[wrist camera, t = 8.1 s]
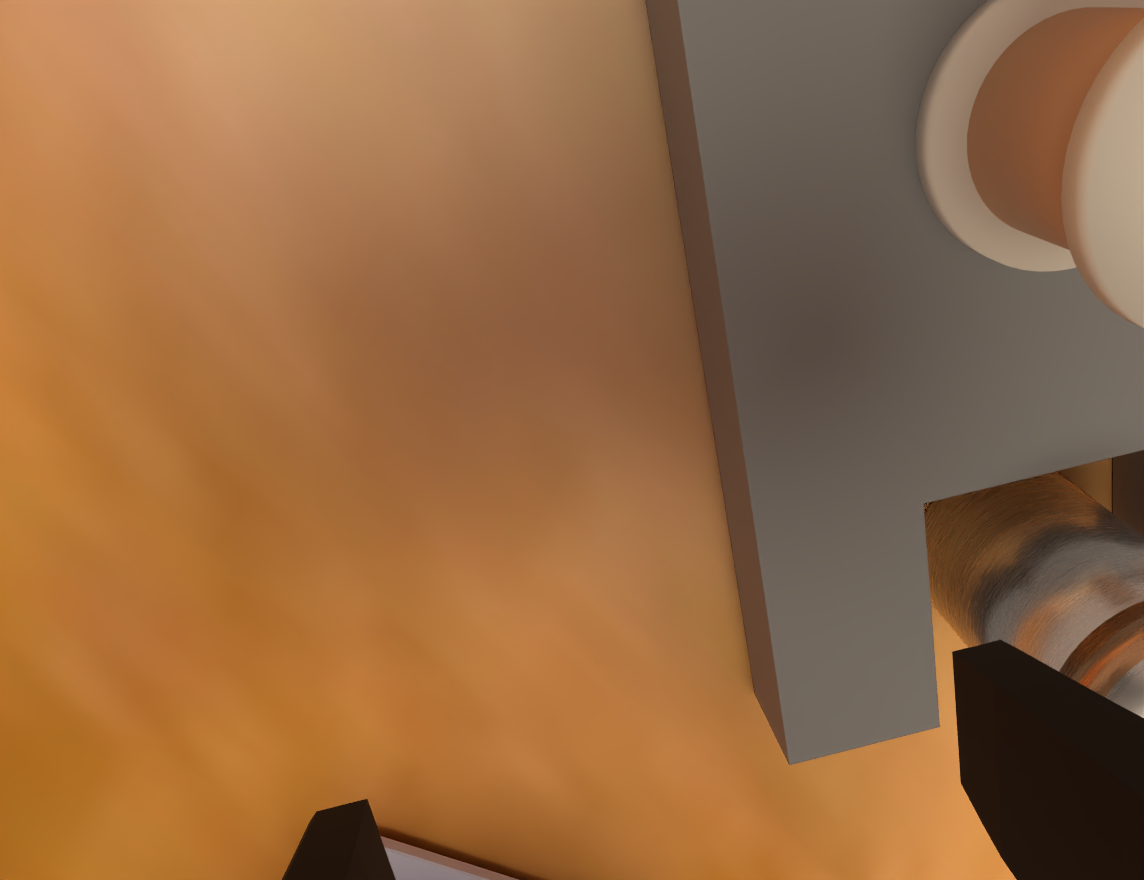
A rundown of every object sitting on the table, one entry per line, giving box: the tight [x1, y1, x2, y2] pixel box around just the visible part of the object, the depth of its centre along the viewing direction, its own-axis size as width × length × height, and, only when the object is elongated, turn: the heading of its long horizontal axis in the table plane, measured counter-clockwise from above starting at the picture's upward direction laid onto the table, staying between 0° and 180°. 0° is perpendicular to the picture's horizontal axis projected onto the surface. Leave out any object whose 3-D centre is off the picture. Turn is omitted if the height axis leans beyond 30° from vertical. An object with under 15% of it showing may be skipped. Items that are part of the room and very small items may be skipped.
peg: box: [924, 471, 1144, 718], centre depth 21 cm, size 4×4×7 cm
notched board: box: [646, 0, 1144, 765], centre depth 18 cm, size 16×12×8 cm
